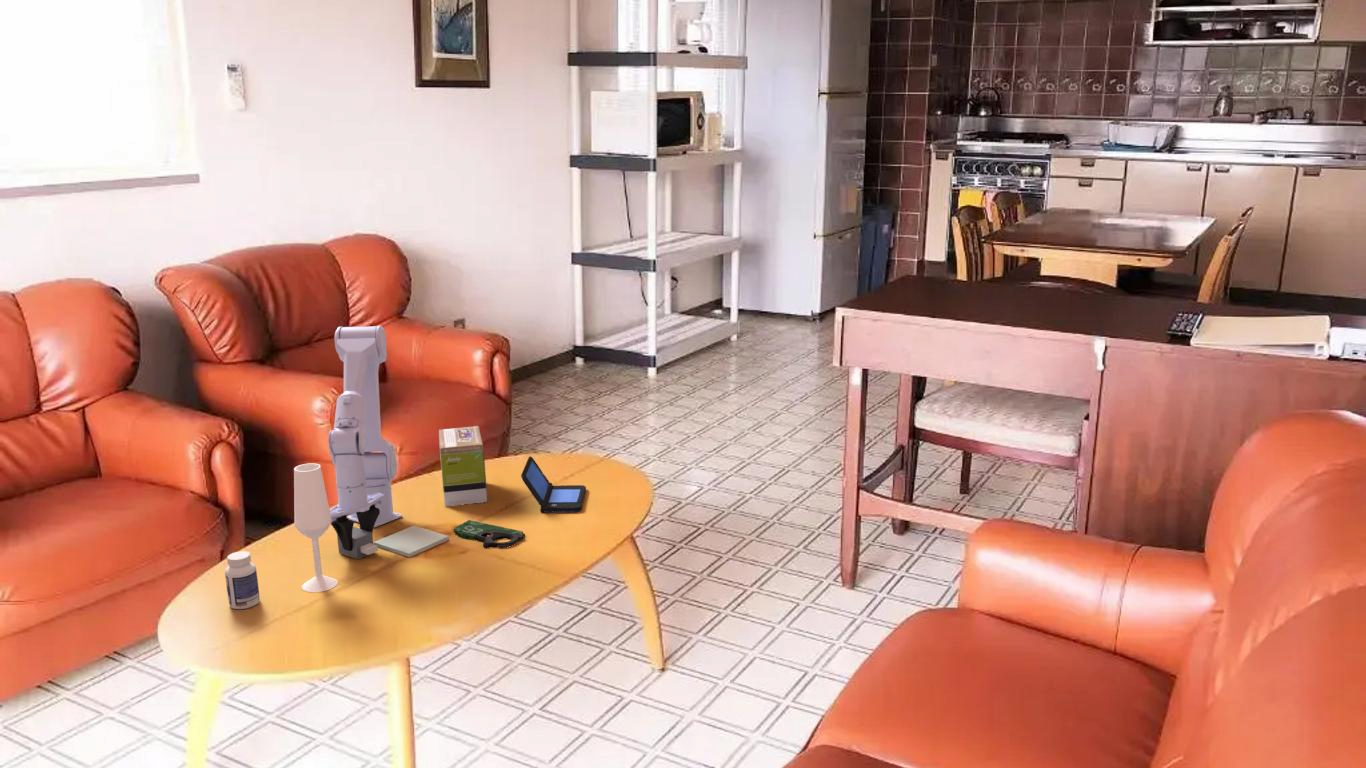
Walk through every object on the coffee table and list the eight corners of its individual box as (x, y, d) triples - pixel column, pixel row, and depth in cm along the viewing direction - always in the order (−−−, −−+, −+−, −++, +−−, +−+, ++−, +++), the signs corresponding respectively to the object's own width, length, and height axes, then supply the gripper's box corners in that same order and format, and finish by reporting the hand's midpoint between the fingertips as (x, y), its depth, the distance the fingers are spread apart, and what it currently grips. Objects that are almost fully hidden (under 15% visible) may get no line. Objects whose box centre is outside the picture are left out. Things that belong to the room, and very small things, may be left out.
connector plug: (338, 552, 225) (336, 533, 224) (355, 546, 228) (353, 526, 227) (365, 561, 220) (363, 541, 219) (381, 554, 224) (380, 535, 222)
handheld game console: (581, 514, 245) (579, 475, 243) (522, 514, 245) (520, 476, 243) (586, 490, 260) (585, 453, 258) (531, 490, 260) (529, 454, 258)
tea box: (442, 486, 264) (437, 428, 260) (484, 482, 266) (480, 424, 262) (444, 507, 250) (439, 446, 246) (488, 503, 252) (484, 442, 248)
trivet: (373, 545, 228) (373, 542, 228) (413, 528, 237) (413, 525, 237) (409, 557, 222) (408, 553, 222) (449, 539, 231) (448, 536, 231)
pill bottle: (266, 599, 204) (260, 551, 202) (246, 611, 199) (240, 562, 197) (243, 595, 206) (237, 548, 204) (222, 607, 201) (216, 559, 199)
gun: (440, 534, 232) (470, 518, 240) (441, 540, 232) (471, 524, 241) (501, 547, 224) (530, 531, 233) (502, 554, 224) (530, 537, 233)
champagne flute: (298, 593, 207) (285, 474, 200) (305, 578, 213) (292, 462, 207) (335, 590, 207) (322, 472, 201) (340, 576, 214) (328, 460, 208)
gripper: (334, 498, 213) (341, 562, 216) (392, 477, 224) (397, 538, 228) (311, 491, 217) (318, 554, 220) (369, 471, 228) (375, 531, 232)
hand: (357, 545), depth 224 cm, fingers closed on connector plug, 4 cm apart
